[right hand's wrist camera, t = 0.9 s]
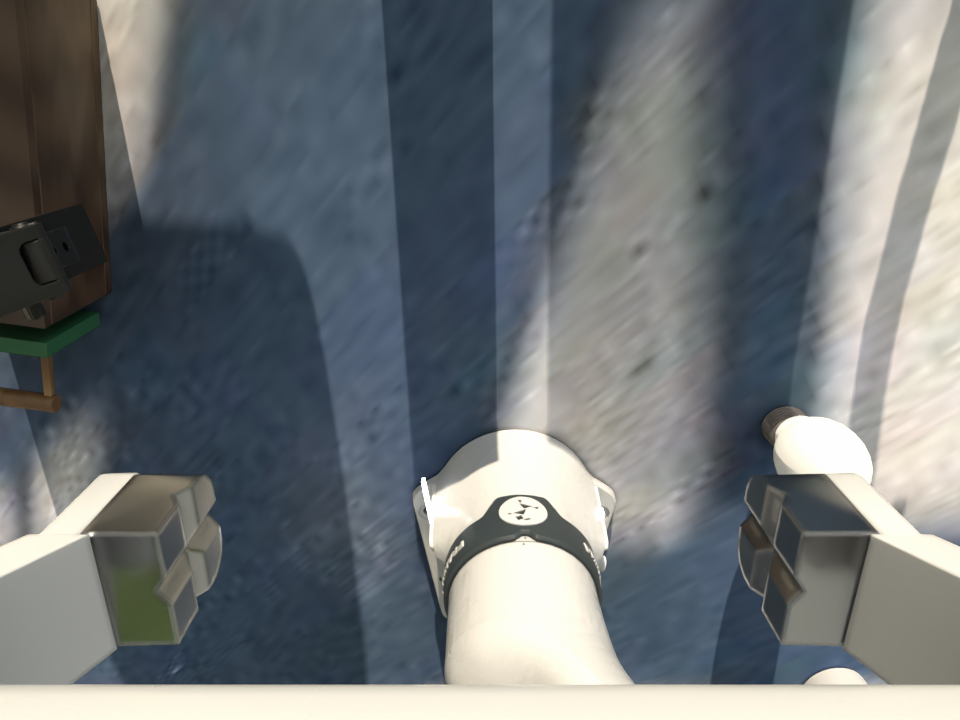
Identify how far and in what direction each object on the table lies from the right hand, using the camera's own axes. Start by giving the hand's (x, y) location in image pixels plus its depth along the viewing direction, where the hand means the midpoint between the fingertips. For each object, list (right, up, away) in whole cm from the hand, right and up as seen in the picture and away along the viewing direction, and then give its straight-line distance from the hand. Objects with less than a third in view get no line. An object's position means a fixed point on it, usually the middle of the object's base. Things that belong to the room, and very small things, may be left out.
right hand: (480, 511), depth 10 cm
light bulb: (+27, -3, +50) cm, 57 cm away
